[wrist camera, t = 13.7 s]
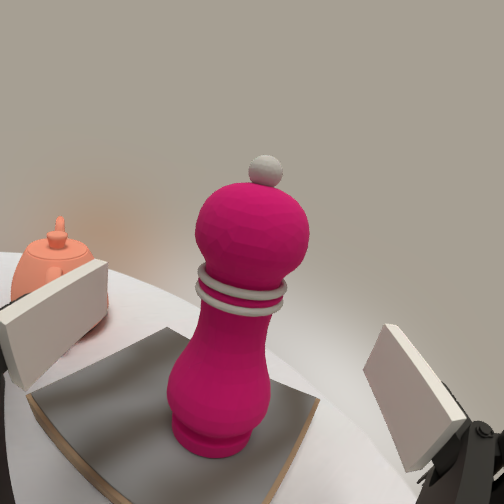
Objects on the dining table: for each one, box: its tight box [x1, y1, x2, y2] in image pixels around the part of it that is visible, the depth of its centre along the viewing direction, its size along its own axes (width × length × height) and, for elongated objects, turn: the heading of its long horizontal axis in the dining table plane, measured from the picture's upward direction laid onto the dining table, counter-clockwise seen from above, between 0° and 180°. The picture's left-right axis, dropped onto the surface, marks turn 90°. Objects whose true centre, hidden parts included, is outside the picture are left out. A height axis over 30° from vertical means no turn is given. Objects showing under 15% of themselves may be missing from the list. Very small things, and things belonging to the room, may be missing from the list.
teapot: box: [11, 216, 109, 331], centre depth 31 cm, size 22×16×12 cm
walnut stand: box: [26, 327, 320, 504], centre depth 20 cm, size 20×20×4 cm
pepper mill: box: [166, 155, 309, 458], centre depth 16 cm, size 7×7×20 cm
